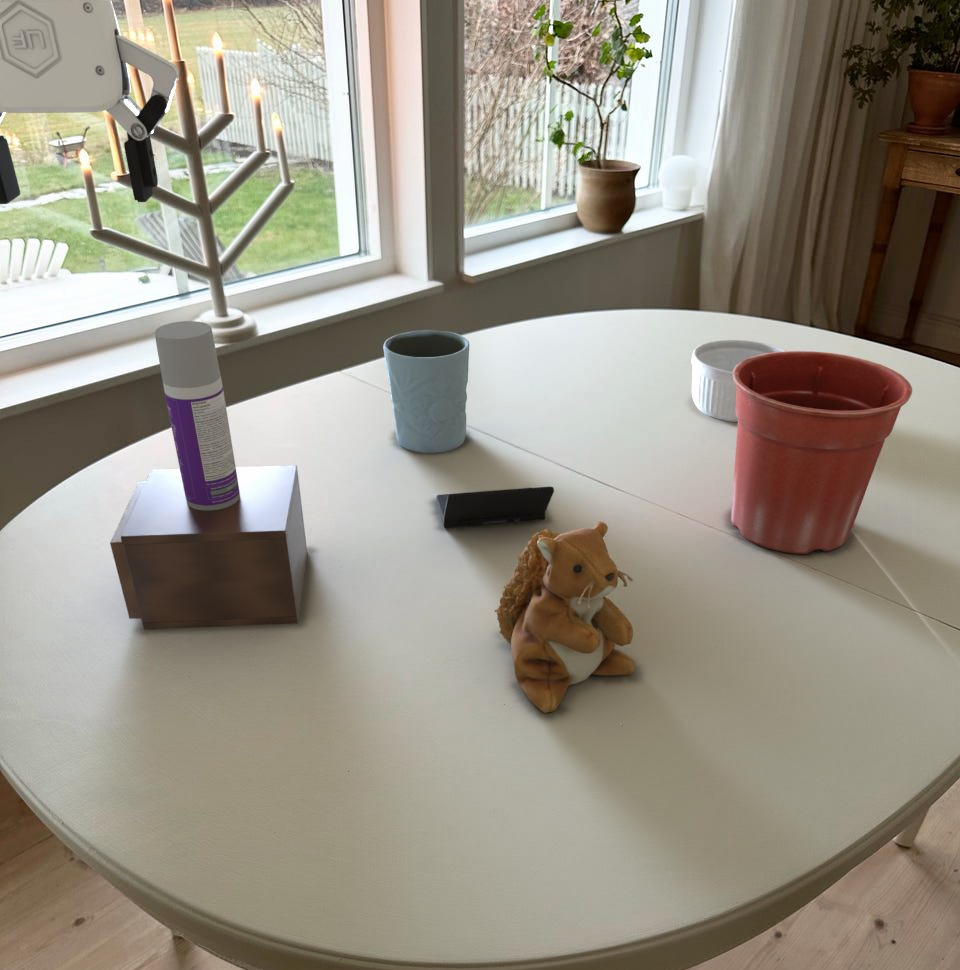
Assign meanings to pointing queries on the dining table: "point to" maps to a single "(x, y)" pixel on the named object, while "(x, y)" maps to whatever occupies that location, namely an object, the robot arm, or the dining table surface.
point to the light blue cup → (428, 388)
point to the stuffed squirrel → (564, 614)
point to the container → (198, 414)
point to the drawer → (121, 558)
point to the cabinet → (218, 552)
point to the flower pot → (808, 444)
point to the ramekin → (721, 374)
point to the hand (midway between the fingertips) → (77, 199)
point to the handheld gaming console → (494, 506)
